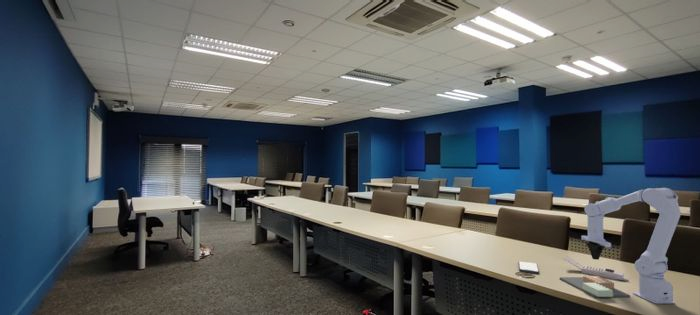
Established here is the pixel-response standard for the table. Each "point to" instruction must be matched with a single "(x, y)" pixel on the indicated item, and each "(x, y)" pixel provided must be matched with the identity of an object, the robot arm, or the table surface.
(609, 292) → the pale green rectangular block
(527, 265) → the phone case
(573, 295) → the table surface
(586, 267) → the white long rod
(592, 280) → the pink block
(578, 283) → the mat
